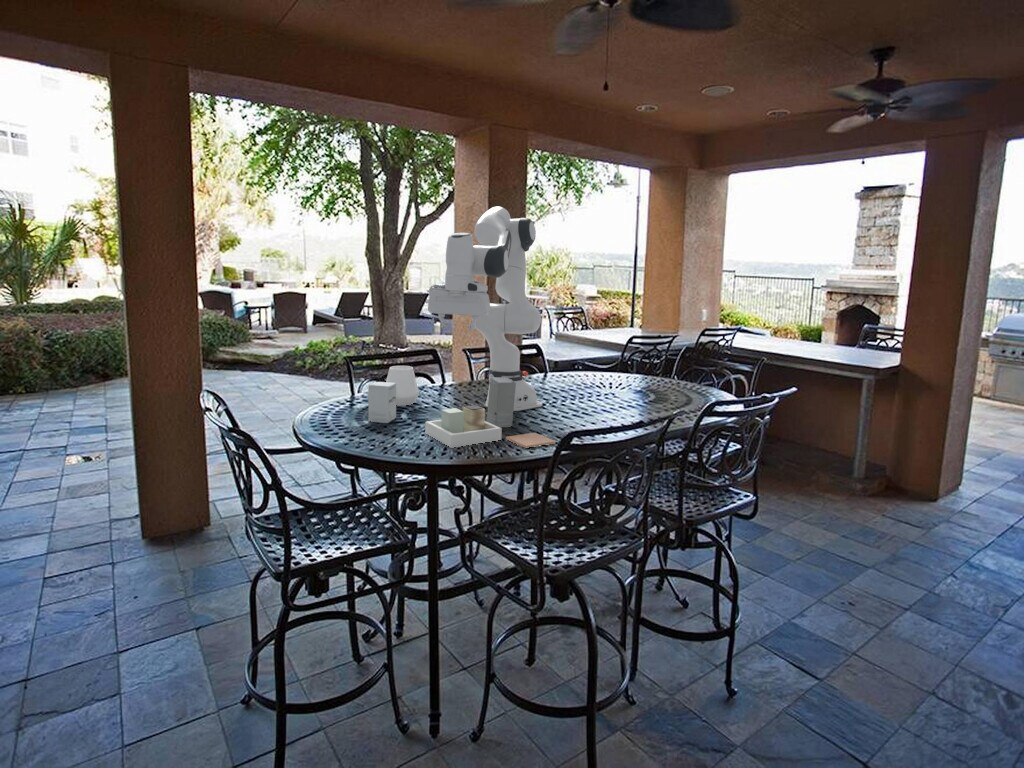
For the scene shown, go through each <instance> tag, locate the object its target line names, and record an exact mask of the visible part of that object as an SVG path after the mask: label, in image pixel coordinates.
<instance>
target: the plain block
mask: <svg viewBox="0 0 1024 768" xmlns="http://www.w3.org/2000/svg"><path fill="white" fill-rule="evenodd" d="M440 420H441V428H443V429H445V430H447V431H449V432H451V433H453V434H454V433H461V432H463V426H464V411H463V410H462V409H459V408H457V407H453V408H444V409H441V419H440Z"/></svg>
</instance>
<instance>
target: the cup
mask: <svg viewBox="0 0 1024 768" xmlns="http://www.w3.org/2000/svg"><path fill="white" fill-rule="evenodd" d="M385 381H386V382H390V383H396V405H397V406H396V407H406V405H409V406H412V405H414V404H413V403H415V402H416V400H417V399H418V397H419V394H420V392H419V387H418V386H419V385H418V382H417V378H416V375H415V372H414V368H413V366H410V365H393V366H390V367H389V369H388V373H387V377H386V380H385ZM411 404H412V405H411Z"/></svg>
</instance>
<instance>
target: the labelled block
mask: <svg viewBox="0 0 1024 768" xmlns="http://www.w3.org/2000/svg"><path fill="white" fill-rule="evenodd" d="M462 411H464V426H463V432H468V431H476V430H483V429H484V423H485V421H486V420H485V419H486V418H485V417H486V416H485V413H486V409H485V408H483V407H482V406H479V405H468V406H466V405H465V406H463V407H462Z"/></svg>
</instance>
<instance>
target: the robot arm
mask: <svg viewBox="0 0 1024 768" xmlns="http://www.w3.org/2000/svg"><path fill="white" fill-rule="evenodd" d="M536 233H537V232H536V225H535V224H534V222H533V220H532V219H531V218H529V217H528V218H527V217H520V218H511V215H510V212H509V211H508V210H507V209H506V208H504V207H502V206H499V205H498V206H492V207H491V208H489V209H488V210H486V211H485V212H483V214H482V215H481V216H480V217H479V218H478V220H477V221H476V224H475V225H474V236H475V239H476V241H477V242H478V243H479V245H474V239H473V234H471V233H469V232H454V233H450V234H449V235H448V237H447V242H446V248H445V263H446V270H445V275H444V277H445V279H444V284H435V283H434V284H433V285H431V286H429V289H428V295H429V298H428V302H427V310H428V312H429V314H437V315H438V317H437V318H438V320H439V321H440V323H441V324H440V326H441V329H448V328H449V327H448V325H449V322H446V321H445V320H446V319H445V316H446V315H455V316H456V315H457V316H471V321H472V322H471V323H469V324H468V330H469V331H475V330H477V331H478V332H479V333H481V334H482V336H483V337H484V338H485V340H486V342H487V344H488V348H489V357H490V358H489V359H490V367H489V368H490V369H489V370H488V391H487V398H486V401H485V404H484V406H485V407H486V408H488V401H489V389H490V378H491V377H507V378H509V379H511V380H512V381H514V382H516V389H515V399H514V410H513V412H519V411H525V410H530V409H534V408H540V407H543V402H541V401H539V400H537V399H538V398H537V392H536V389H535V388H534V387H533V386H532V385H530V384H529V383H528V382H527V381H525V380H524V378H523V377H525V378H526V377H527V378H528V371H526V370H523V371H522V370H521V369H520V365H521V364H520V361H521V359H520V358H521V351H520V348H518V346H517V345H515V344H514V343H512V342H510V341H508V340H507V339H506V337H505V335H506V334H507V335H508V334H509V335H511V334H512V335H527V334H534V333H536V332H537V331H538V329H540V326H541V323H542V315H541V312H540V311H539V309H538V308H537V307H536V306H534V305H533V304H532V303H531V302H530V301H529V299H528V297H527V293H526V274H527V260H526V254H525V252H528V251H529V250H530V247H531V246H533V244H534V242H535V240H536ZM474 276H475V277H478V276H479V277H491V278H496V280H495V287H494V288H495V291H496V294H497V296H499V297H500V298H502V299H504V300H505V301H506V302H509V303H491V302H490V295H489V294H488V293H487V292H488V288H489V287H488V285H486V284H484V283H482V282H480V281H476V280H474Z"/></svg>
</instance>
